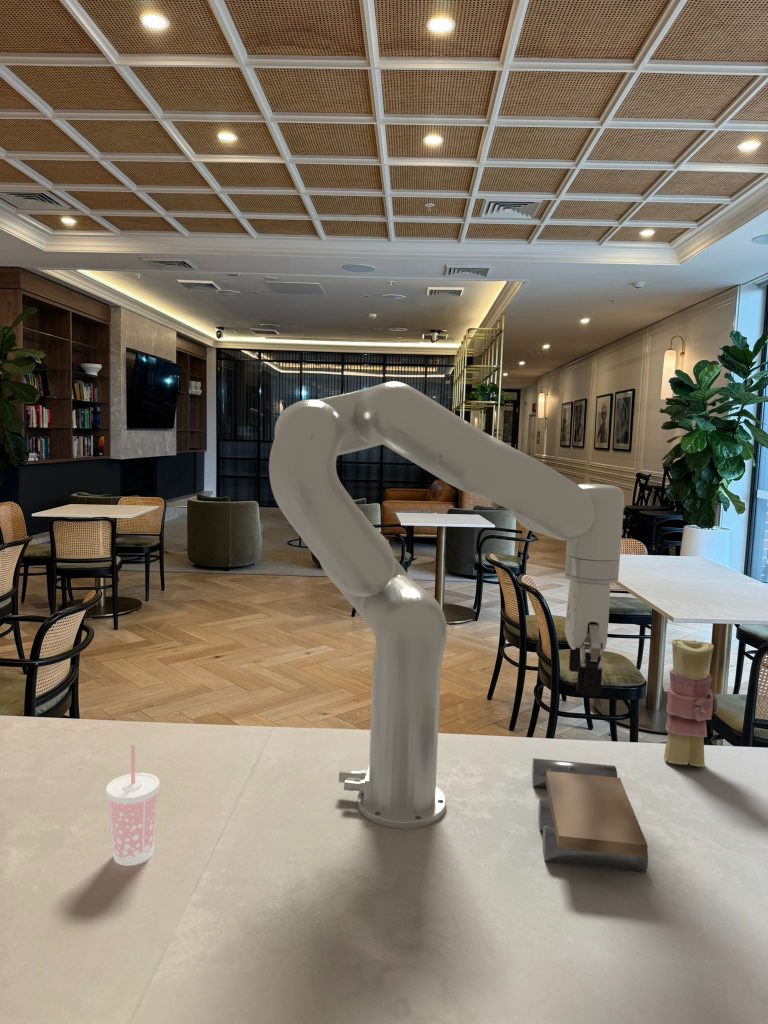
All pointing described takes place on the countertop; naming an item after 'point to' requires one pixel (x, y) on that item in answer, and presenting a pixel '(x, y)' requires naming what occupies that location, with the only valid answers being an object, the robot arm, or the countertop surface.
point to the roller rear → (544, 814)
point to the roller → (567, 769)
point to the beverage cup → (133, 815)
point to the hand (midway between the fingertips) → (583, 682)
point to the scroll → (689, 702)
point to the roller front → (588, 855)
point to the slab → (593, 814)
